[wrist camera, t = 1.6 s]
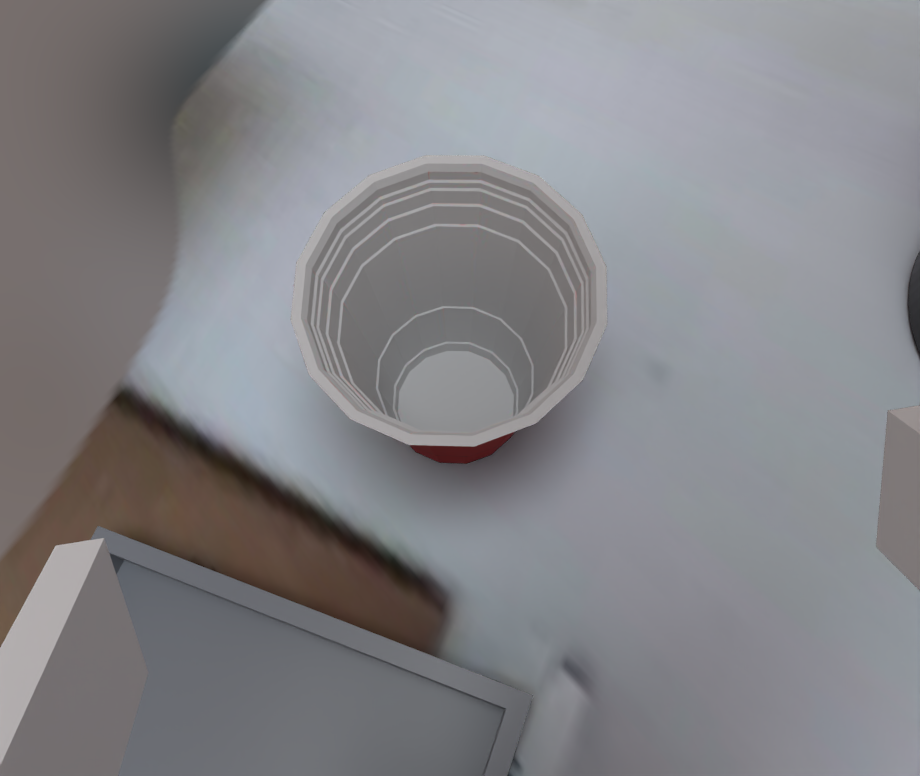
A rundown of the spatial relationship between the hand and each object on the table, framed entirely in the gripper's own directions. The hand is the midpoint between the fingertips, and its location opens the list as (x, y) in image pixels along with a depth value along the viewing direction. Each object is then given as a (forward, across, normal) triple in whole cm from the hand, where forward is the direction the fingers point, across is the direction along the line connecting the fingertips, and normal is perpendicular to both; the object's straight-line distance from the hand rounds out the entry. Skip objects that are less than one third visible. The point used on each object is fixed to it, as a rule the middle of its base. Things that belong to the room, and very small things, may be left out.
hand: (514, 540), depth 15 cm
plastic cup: (+25, +1, -9) cm, 26 cm away
